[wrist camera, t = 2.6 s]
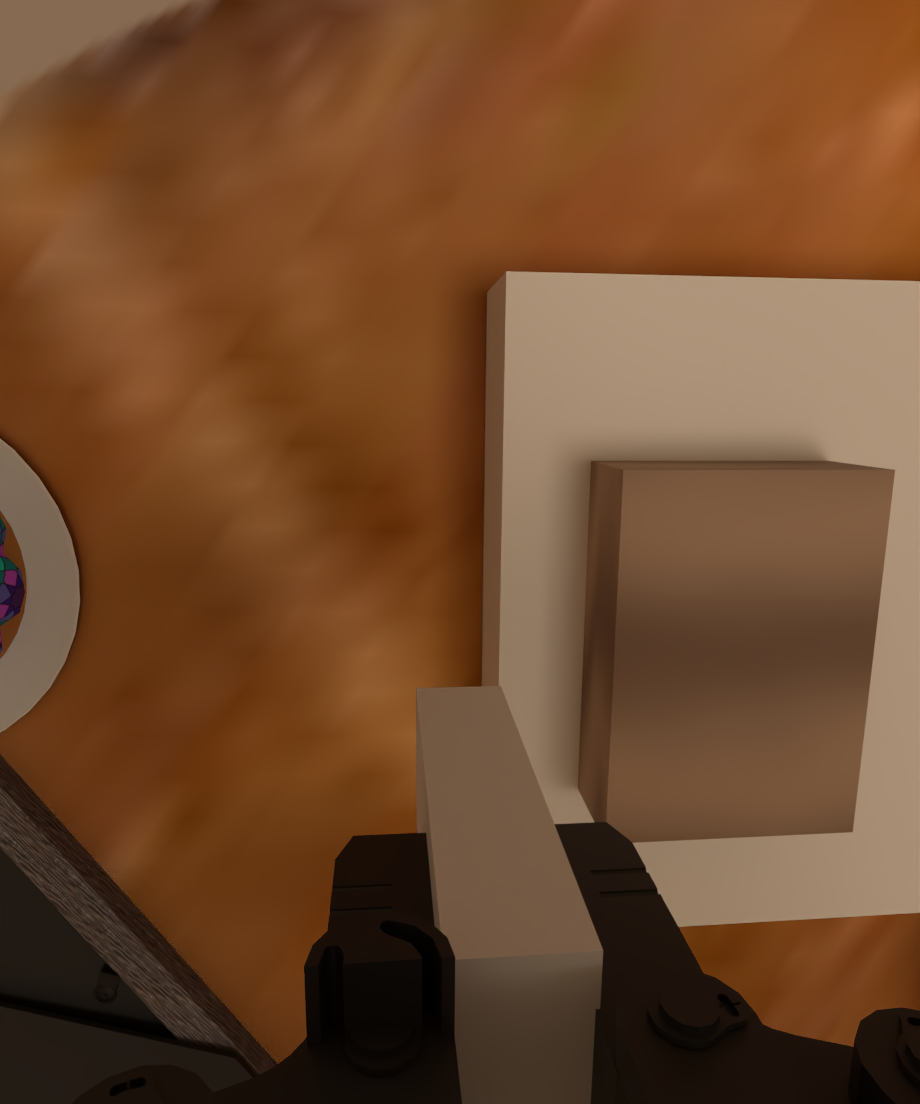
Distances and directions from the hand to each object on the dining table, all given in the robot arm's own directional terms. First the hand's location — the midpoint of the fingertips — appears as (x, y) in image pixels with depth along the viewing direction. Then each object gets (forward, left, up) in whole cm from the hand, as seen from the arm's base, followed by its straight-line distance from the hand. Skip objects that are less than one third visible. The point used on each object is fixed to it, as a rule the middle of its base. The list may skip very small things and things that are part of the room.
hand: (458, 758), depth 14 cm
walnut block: (0, -8, -9) cm, 12 cm away
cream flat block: (0, -11, -13) cm, 17 cm away
